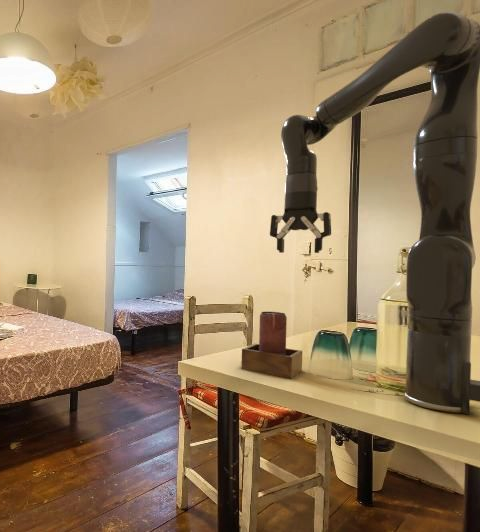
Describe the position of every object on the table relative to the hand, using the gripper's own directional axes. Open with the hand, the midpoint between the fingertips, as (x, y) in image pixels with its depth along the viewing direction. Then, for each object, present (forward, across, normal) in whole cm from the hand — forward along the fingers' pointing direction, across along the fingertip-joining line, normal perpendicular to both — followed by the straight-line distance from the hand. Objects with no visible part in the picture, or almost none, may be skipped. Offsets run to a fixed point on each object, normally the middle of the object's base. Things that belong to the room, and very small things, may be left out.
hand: (298, 252), depth 106 cm
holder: (+30, -3, -11) cm, 32 cm away
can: (+30, -3, -11) cm, 32 cm away
